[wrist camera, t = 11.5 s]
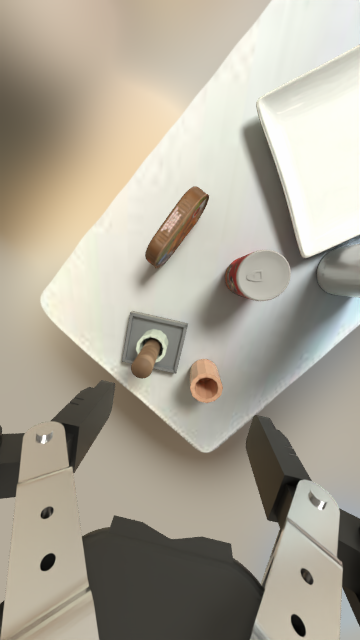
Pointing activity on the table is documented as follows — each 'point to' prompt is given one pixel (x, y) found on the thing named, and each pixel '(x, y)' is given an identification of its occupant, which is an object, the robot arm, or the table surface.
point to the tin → (176, 226)
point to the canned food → (259, 275)
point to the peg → (146, 358)
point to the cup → (205, 381)
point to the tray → (138, 328)
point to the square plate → (318, 150)
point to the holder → (157, 335)
